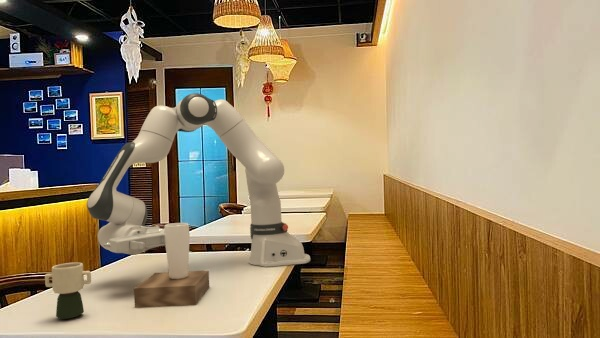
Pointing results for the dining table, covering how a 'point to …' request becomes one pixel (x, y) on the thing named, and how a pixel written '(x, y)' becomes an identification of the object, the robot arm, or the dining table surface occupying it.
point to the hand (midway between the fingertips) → (159, 242)
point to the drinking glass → (177, 249)
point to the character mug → (68, 288)
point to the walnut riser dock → (171, 290)
